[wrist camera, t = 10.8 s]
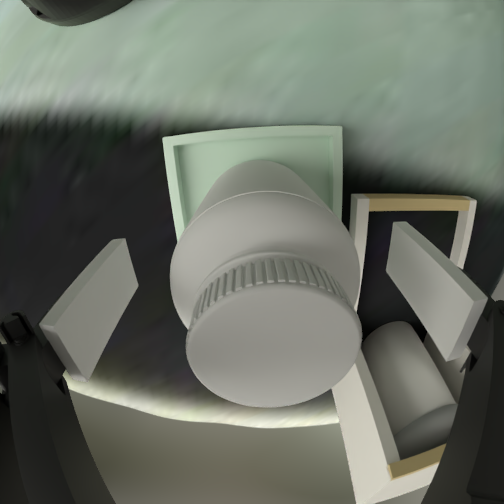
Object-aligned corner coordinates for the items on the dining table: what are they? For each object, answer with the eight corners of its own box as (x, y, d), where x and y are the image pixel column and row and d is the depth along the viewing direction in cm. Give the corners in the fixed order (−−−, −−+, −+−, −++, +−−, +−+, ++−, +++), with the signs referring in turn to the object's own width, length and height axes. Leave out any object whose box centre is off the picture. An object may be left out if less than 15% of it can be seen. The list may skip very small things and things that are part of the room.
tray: (169, 136, 19) (162, 137, 18) (335, 125, 19) (341, 126, 17) (191, 280, 25) (187, 291, 23) (332, 272, 24) (336, 282, 23)
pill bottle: (325, 176, 20) (447, 281, 7) (289, 267, 23) (326, 433, 10) (222, 143, 19) (155, 190, 6) (196, 242, 22) (135, 402, 9)
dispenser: (351, 194, 21) (500, 338, 6) (467, 196, 21) (599, 284, 5) (329, 380, 31) (356, 507, 15) (420, 362, 30) (468, 465, 15)
